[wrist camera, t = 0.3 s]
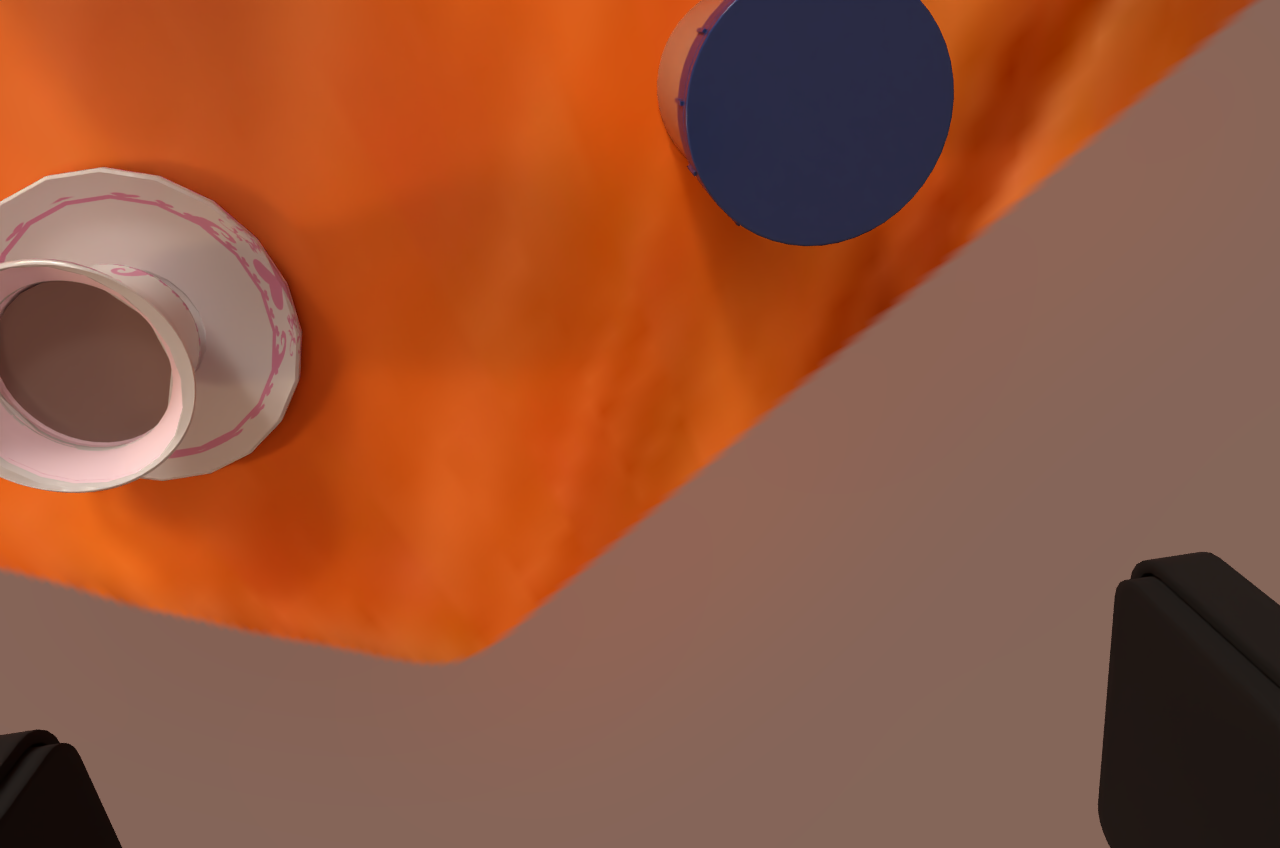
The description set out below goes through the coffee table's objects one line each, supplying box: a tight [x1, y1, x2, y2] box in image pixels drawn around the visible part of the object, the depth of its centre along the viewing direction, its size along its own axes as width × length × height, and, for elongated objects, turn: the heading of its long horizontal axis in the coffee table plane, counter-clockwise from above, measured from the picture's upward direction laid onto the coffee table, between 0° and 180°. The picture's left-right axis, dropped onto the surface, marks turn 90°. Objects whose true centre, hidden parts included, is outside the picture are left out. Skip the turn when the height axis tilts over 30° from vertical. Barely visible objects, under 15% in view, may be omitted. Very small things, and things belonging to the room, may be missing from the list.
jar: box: [657, 0, 724, 159], centre depth 29 cm, size 7×7×10 cm
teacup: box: [0, 167, 302, 493], centre depth 32 cm, size 12×12×6 cm
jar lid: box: [675, 0, 954, 246], centre depth 25 cm, size 7×7×2 cm
